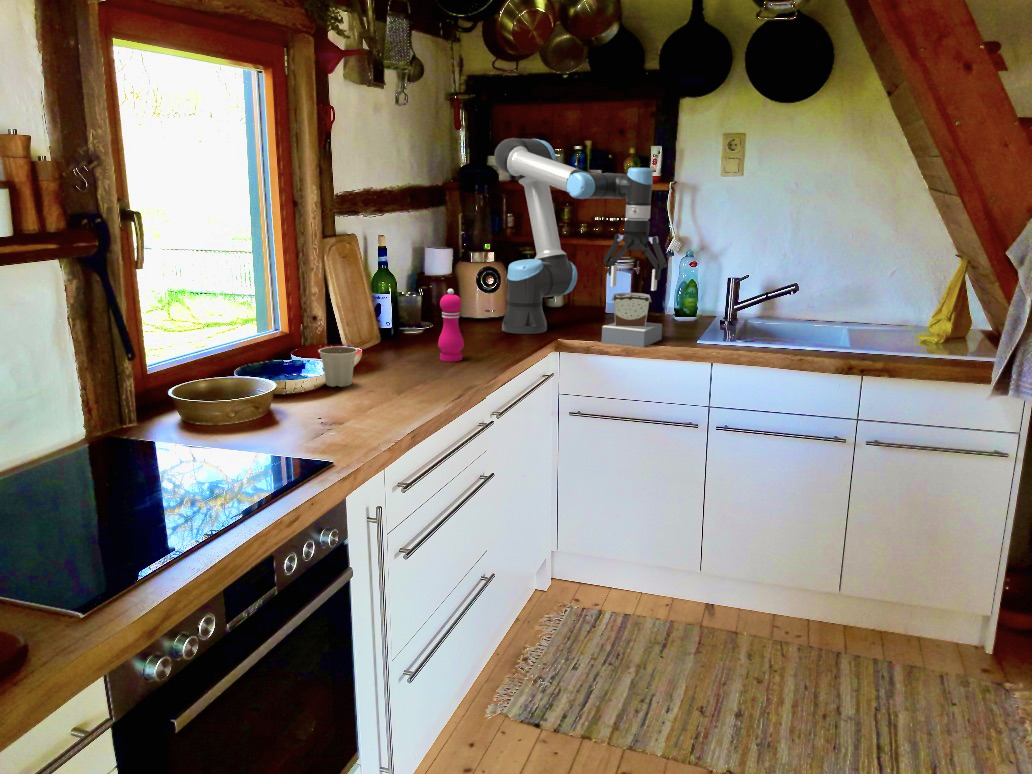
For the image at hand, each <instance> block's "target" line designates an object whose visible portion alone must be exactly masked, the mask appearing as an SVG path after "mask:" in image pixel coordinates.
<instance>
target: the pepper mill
mask: <svg viewBox="0 0 1032 774" xmlns="http://www.w3.org/2000/svg"><path fill="white" fill-rule="evenodd" d="M439 307H440V309H441V310H442V311H441V317H442V318H443V323H442V324H443V326H442V330H441V332H440V335H439V337H438V344H437V347H438V348H439V350H441V352H440V353H439V360H440V361H443V362H450V363H451V362H453V363H454V362H459V361H462V360H463V352H461V351H462V350H463V349H464V347H465V342H464V341H465V340H464V338H463V337H464V336H463V335H462V333H461V330H460V326H459V318H460V317H461V316H460V313H461V312H460V310H461V308H462V299H461V297H459V296H458V295H456V294H455V291H454V289H453V288H448V290H447V294H444V295H442V297H441V298H440V301H439Z"/></svg>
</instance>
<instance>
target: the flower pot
mask: <svg viewBox="0 0 1032 774" xmlns="http://www.w3.org/2000/svg"><path fill="white" fill-rule="evenodd" d="M317 351H318V353H319V356H320V358H321V363H322V367H323V373H324V377H325V379H324V380H325V385H326V386H329V387H332V388H334V387H336V386H338V387H341V388H343V387H349V386H351V384H352V383H353V374H354V367H355V358H356V356H357V352H358V348H356V347H351V346H327V347H322V348H319V349H318V350H317Z"/></svg>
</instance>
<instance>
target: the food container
mask: <svg viewBox="0 0 1032 774" xmlns="http://www.w3.org/2000/svg"><path fill="white" fill-rule="evenodd" d="M611 297H612V298H611V302H613V311H614V312H613V313H614V323H615V327H645V326H646V322H647V318H648V311H649V306H650V303H652V299H651V296H650V294H646V293H642V292H641V293H639V292H617V293H613V295H612V296H611Z"/></svg>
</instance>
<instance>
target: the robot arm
mask: <svg viewBox="0 0 1032 774" xmlns="http://www.w3.org/2000/svg"><path fill="white" fill-rule="evenodd" d="M494 161H495V164H496V167H497V168H498V170H500V171H502V172H503V173H505V174H508V175H511V176H515V177H517V180H518V183H519V184H520V185H522V186H523V187H524V194H525V198H526V202H527V203H526V204H527V209H528V214H529V219H530V225H531V231H532V236H533V240H534V241H533V242H534V246H535V252H536V255H535V257H534V258H528V259H527V258H526V259H521V260H520V259H519V260H516V261H513V262H511V263H509V265H508V269H507V275H506V277H507V309H506V310H505V314H504V317H503V320H502V323H501V330H502V331H503V332H505V333H509V334H516V335H521V334H522V335H525V334H526V335H530V334H531V335H533V334H536V335H537V334H542V333H545V332H547V331H548V324H547V320H546V316H545V313H544V311H543V298H548V297H549V298H550V297H560V296H562V295H564V296H565V295H567V294H569V293H571V292H572V291H573V289H574V288H575V286H576V284H577V281H578V271H577V267H576V265H574V264H573V262H572V261H570V260H568V254H567V253H566V252H565V251H564V250H562V247H561V241H560V236H559V230H558V225H557V220H556V215H555V214H556V213H555V209H554V204H553V199H552V198H553V197H552V193H551V192H552V191H551V187H554V188H556V189H559V190H561V191H565V192H567V193H568V194H569V195H570V197H572V198H574V199H580V200H585V199H586V200H587V199H623V200H625V202H626V203H625V218H626V220H625V221H624V234H621V233H615V234H614V237H613V241H612V243H611V246H610V247H609V249H608V251H607V253H606V255H605V256H604V258H603V260H602V261H603V263H604V264H607V265H608V276H610V284H609V285H610V287H612V288H613V287H614V288H615V287H616V286H617V274H618V273H617V272H618V265H617V264H616V263H618V261H619V260H621V258H622V257H623V256H624V254H625V253H626V252H627V251H628V250H630V251H632V250H635V251H642V253H644V255H646V257H647V259H648V260H649V262H650V263H651V265H652V266H653V267H654V268H653V269H652V271H651V272H652V273H651V287H650V291H653V292H654V291H657V290H658V289H657V287H658V281H659V280H660V279H661V274H662V273H661V270H662V269H664V268H667V267H668V263H667V261H666V258H665V255H664V254H663V251H662V248H661V244H660V238H659V236H657V235H656V236H652V237H651V236H650V224H651V223H650V219H651V207H652V206H651V205H652V204H651V203H652V201H651V200H652V191H653V183H654V182H653V170H652V168H650V167H629V168H628V170H627V173H613V172H605V173H604V172H603V173H601V172H599V173H598V172H596V173H595V172H594V173H593V172H588V171H586V170H582V169H579V168H577V167H576V168H575V167H573V166H570V165H568V164H565V163H561V162H558V161H557V158H556V153H555V150H554V149H553V147H552V145H550V143H549V142H547V141H546V140H542V139H541V140H540V139H537V138H517V137H516V138H515V137H512V138H506V139H504V140H502V141H500V143H499V144H498V145H497V146H496V148H495V150H494ZM550 186H551V187H550ZM622 241H623V242H624V244H623V245H622V247H621V248H620V249H619V250H618V251H617V253H616V254H615V252H616V250H617V249H618V246H619V245H620V242H622ZM649 243H650V244H652V247H653V250H654V253H655V255H656V256H655V255H654V253H653V252H652V251H651V248H650V246H649V245H648V244H649ZM614 254H615V255H614Z"/></svg>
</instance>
